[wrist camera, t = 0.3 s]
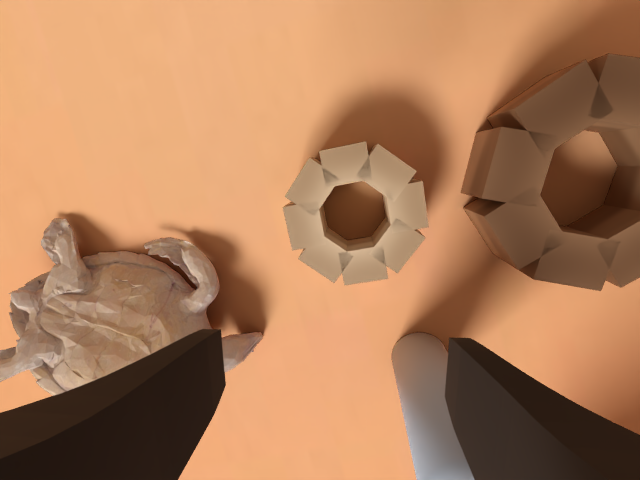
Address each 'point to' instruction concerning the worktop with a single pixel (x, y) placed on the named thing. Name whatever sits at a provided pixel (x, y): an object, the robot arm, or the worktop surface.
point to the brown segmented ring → (532, 166)
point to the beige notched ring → (364, 253)
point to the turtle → (110, 311)
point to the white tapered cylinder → (428, 408)
